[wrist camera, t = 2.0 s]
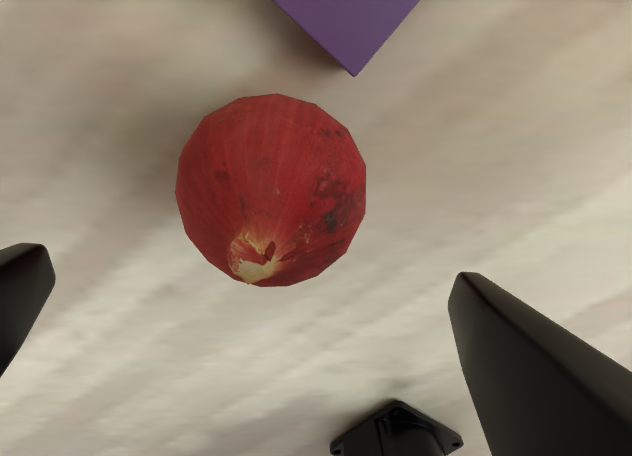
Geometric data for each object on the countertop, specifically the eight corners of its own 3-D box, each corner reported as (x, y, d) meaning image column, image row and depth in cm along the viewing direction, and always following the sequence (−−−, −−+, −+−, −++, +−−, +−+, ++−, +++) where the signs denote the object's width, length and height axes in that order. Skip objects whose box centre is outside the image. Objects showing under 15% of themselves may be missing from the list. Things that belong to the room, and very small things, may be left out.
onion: (352, 69, 14) (396, 131, 7) (355, 210, 16) (388, 356, 10) (193, 82, 14) (75, 156, 7) (224, 220, 17) (163, 369, 10)
